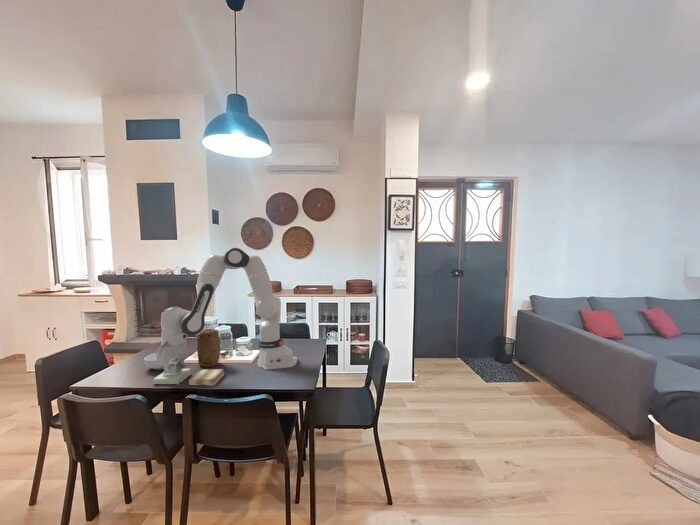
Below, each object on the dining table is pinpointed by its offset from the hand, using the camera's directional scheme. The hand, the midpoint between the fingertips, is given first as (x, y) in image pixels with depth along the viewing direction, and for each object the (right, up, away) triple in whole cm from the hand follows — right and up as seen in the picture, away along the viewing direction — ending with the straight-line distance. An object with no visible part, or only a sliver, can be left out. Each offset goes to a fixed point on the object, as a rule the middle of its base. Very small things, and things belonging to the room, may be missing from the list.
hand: (172, 366), depth 146 cm
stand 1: (0, -7, 0) cm, 7 cm away
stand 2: (+18, -7, -1) cm, 19 cm away
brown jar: (+9, -6, +19) cm, 22 cm away
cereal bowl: (-16, -7, +17) cm, 24 cm away
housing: (0, -4, 0) cm, 4 cm away
